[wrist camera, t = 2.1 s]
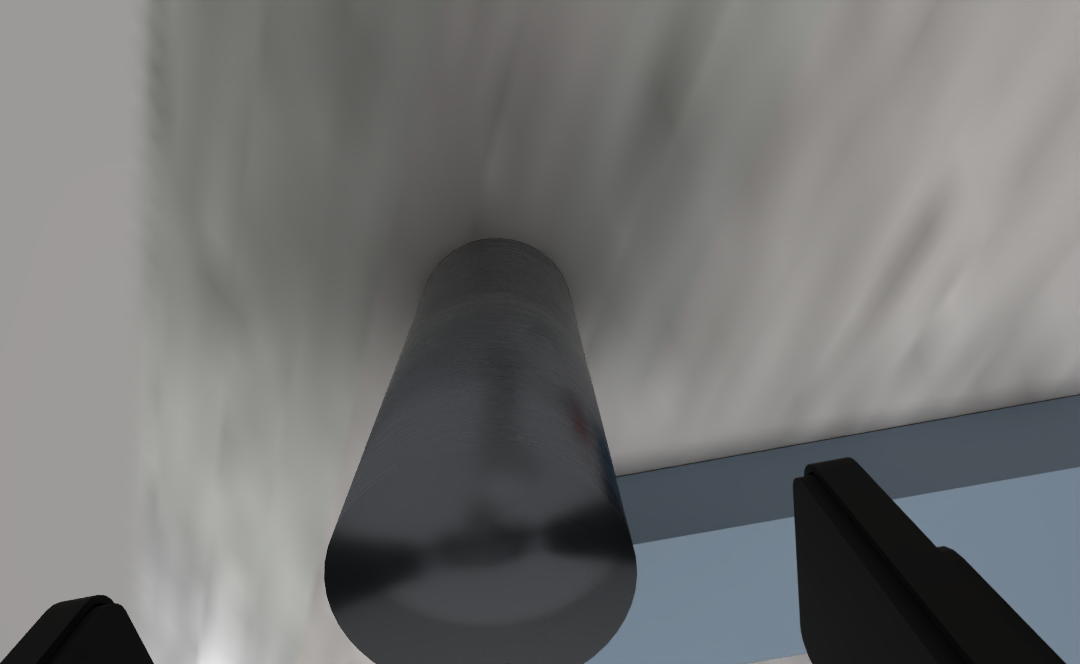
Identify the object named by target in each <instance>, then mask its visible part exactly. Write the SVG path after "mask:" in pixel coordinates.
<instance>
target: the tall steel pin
mask: <svg viewBox="0 0 1080 664" xmlns="http://www.w3.org/2000/svg"><path fill="white" fill-rule="evenodd" d="M324 580H325V587H326V594H327V598H328V601H329V604H330V607H331V610H332V612H333V614H334V616H335V618H336V620H337V622H338V624H339V626H340V627H341V629H342V630H343V632H344V633H345V634H346V636H347V637H348V639H349V640H350V641H351V642H352V643H353V644H354V645H355V646H356V647H357V648H358V649H359V650H360V651H361V652H362V653H363V654H364V655H366V656H367V657H368V658H369V659H370V660H372V661H373V662H374V663H376V664H584V663H586V662H587V661H589V660H590V659H591V658H593V657H594V656H595V655H596V654H597V653H598V652H599V651H601V650H602V649H603V648H604V647H605V646H606V645H607V644H608V643H609V641H610V640H611V639H612V638H613V637H614V635H615V634H616V633H617V632H618V630H619V628H620V627H621V625H622V624H623V622H624V620H625V619H626V616H627V614H628V612H629V610H630V607H631V605H632V602H633V598H634V594H635V590H636V581H637V563H636V555H635V551H634V547H633V543H632V539H631V535H630V531H629V527H628V523H627V519H626V515H625V511H624V508H623V504H622V500H621V496H620V492H619V488H618V484H617V480H616V476H615V472H614V468H613V464H612V460H611V456H610V452H609V448H608V444H607V440H606V437H605V433H604V429H603V425H602V421H601V417H600V413H599V409H598V405H597V401H596V397H595V393H594V389H593V385H592V381H591V377H590V373H589V370H588V366H587V362H586V358H585V354H584V350H583V346H582V342H581V338H580V334H579V330H578V326H577V322H576V318H575V314H574V310H573V306H572V302H571V299H570V295H569V291H568V287H567V285H566V282H565V280H564V278H563V276H562V275H561V273H560V271H559V270H558V269H557V267H556V266H555V265H554V263H553V262H552V261H551V260H550V259H549V258H548V257H546V256H545V255H544V254H542V253H541V252H540V251H538V250H536V249H535V248H533V247H531V246H529V245H526V244H524V243H522V242H518V241H514V240H509V239H494V238H491V239H483V240H479V241H475V242H471V243H469V244H466V245H464V246H462V247H460V248H458V249H456V250H454V251H453V252H452V253H450V254H449V255H448V256H446V257H445V258H444V259H443V260H442V261H441V262H440V263H439V265H438V266H437V267H436V269H435V270H434V271H433V273H432V275H431V277H430V278H429V281H428V283H427V286H426V288H425V291H424V294H423V296H422V299H421V302H420V304H419V307H418V310H417V312H416V315H415V318H414V320H413V323H412V325H411V328H410V331H409V333H408V336H407V339H406V341H405V344H404V347H403V349H402V352H401V355H400V357H399V360H398V363H397V365H396V368H395V371H394V373H393V376H392V379H391V381H390V384H389V386H388V389H387V392H386V394H385V397H384V400H383V402H382V405H381V408H380V410H379V413H378V416H377V418H376V421H375V424H374V426H373V429H372V432H371V434H370V437H369V439H368V442H367V445H366V447H365V450H364V453H363V455H362V458H361V461H360V463H359V466H358V469H357V471H356V474H355V477H354V479H353V482H352V485H351V487H350V490H349V493H348V495H347V498H346V500H345V503H344V506H343V508H342V511H341V514H340V516H339V519H338V522H337V524H336V527H335V530H334V532H333V535H332V538H331V540H330V543H329V546H328V550H327V554H326V559H325V574H324Z"/></svg>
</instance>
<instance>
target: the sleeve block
mask: <svg viewBox="0 0 1080 664" xmlns="http://www.w3.org/2000/svg"><path fill="white" fill-rule="evenodd" d="M845 457H850V458H853V459H854V460H855V461H856V462H857V463H858V464H859V465H860V466H861V467H862V468H863V469H864V470H865V471H866V472H867V473H868V474H869V475H870V476H871V477H872V479H873V480H874V481H875V482H876V483H877V484H878V485H879V486H880V487H881V488H882V489H883V490H884V491H885V492H886V493H887V495H888V496H889V497H890V498H891V499H892V500H893V501H894V502H895V503H896V504H897V505H898V506H899V507H900V508H901V509H902V511H903V512H904V513H905V514H906V515H907V516H908V517H909V518H910V519H911V520H912V521H913V522H914V523H915V524H916V525H917V527H918V528H919V529H920V530H921V531H922V532H923V533H924V534H925V535H926V536H927V537H928V538H929V539H930V540H931V541H932V543H933V544H934V545H935V546H936V547H941V546H945V547H948V548H950V549H953V550H954V551H956V552H957V553H958V554H959V555H960V556H962V557H963V558H964V559H965V560H966V561H967V562H968V563H969V564H970V565H971V566H972V567H973V568H974V569H975V570H976V571H977V572H978V573H979V574H980V575H981V576H982V578H983V579H984V580H985V581H986V582H987V583H988V584H989V585H990V586H991V587H992V588H993V589H994V590H995V591H996V592H997V593H998V594H999V595H1000V596H1001V597H1002V598H1003V599H1004V600H1005V601H1006V602H1007V603H1008V604H1009V605H1010V606H1011V607H1012V608H1013V609H1014V610H1015V611H1016V612H1017V613H1018V615H1019V616H1020V617H1021V618H1022V619H1023V620H1024V621H1025V622H1026V623H1027V624H1028V625H1029V626H1030V627H1031V628H1032V629H1033V630H1034V631H1035V632H1036V633H1037V634H1038V635H1039V636H1040V637H1041V638H1042V639H1043V640H1044V641H1045V642H1046V643H1047V644H1048V645H1049V646H1050V647H1051V648H1052V649H1053V651H1054V652H1055V653H1056V654H1057V655H1058V656H1059V657H1060V658H1061V659H1062V660H1063V661H1064V662H1065V663H1066V664H1080V395H1077V396H1071V397H1066V398H1060V399H1054V400H1049V401H1043V402H1038V403H1032V404H1026V405H1021V406H1015V407H1009V408H1004V409H998V410H993V411H987V412H981V413H976V414H970V415H964V416H959V417H953V418H948V419H942V420H936V421H931V422H925V423H919V424H914V425H908V426H902V427H897V428H891V429H886V430H880V431H874V432H869V433H863V434H857V435H852V436H846V437H841V438H835V439H829V440H824V441H818V442H812V443H807V444H801V445H796V446H790V447H784V448H779V449H773V450H767V451H762V452H756V453H751V454H745V455H739V456H734V457H728V458H722V459H717V460H711V461H705V462H700V463H694V464H689V465H683V466H677V467H672V468H666V469H660V470H655V471H649V472H644V473H638V474H632V475H627V476H621V477H616V480H617V484H618V488H619V492H620V496H621V500H622V504H623V508H624V511H625V515H626V519H627V523H628V527H629V531H630V535H631V539H632V543H633V547H634V551H635V555H636V563H637V581H636V590H635V594H634V598H633V602H632V605H631V607H630V610H629V612H628V614H627V616H626V619H625V620H624V622H623V624H622V625H621V627H620V628H619V630H618V632H617V633H616V634H615V635H614V637H613V638H612V639H611V640H610V641H609V643H608V644H607V645H606V646H605V647H604V648H603V649H602V650H601V651H599V652H598V653H597V654H596V655H595V656H594V657H593V658H591V659H590V660H589V661H587V662H586V663H584V664H746V663H752V662H758V661H764V660H770V659H776V658H782V657H788V656H794V655H800V654H806V653H807V651H806V648H805V646H804V643H803V639H802V635H801V629H800V614H799V596H798V577H797V558H796V539H795V520H794V502H793V481H794V479H795V478H797V477H803V476H804V470H805V467H806V466H807V465H808V464H812V463H818V462H823V461H829V460H834V459H839V458H845Z"/></svg>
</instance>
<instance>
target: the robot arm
mask: <svg viewBox="0 0 1080 664" xmlns="http://www.w3.org/2000/svg"><path fill="white" fill-rule="evenodd" d="M793 502H794V520H795V539H796V558H797V577H798V596H799V614H800V629H801V635H802V639H803V643H804V646H805V648H806V651H807V654H808V656H809V658H810V660H811V662H812V664H1066V663H1065V662H1064V661H1063V660H1062V659H1061V658H1060V657H1059V656H1058V655H1057V654H1056V653H1055V652H1054V651H1053V649H1052V648H1051V647H1050V646H1049V645H1048V644H1047V643H1046V642H1045V641H1044V640H1043V639H1042V638H1041V637H1040V636H1039V635H1038V634H1037V633H1036V632H1035V631H1034V630H1033V629H1032V628H1031V627H1030V626H1029V625H1028V624H1027V623H1026V622H1025V621H1024V620H1023V619H1022V618H1021V617H1020V616H1019V615H1018V613H1017V612H1016V611H1015V610H1014V609H1013V608H1012V607H1011V606H1010V605H1009V604H1008V603H1007V602H1006V601H1005V600H1004V599H1003V598H1002V597H1001V596H1000V595H999V594H998V593H997V592H996V591H995V590H994V589H993V588H992V587H991V586H990V585H989V584H988V583H987V582H986V581H985V580H984V579H983V578H982V576H981V575H980V574H979V573H978V572H977V571H976V570H975V569H974V568H973V567H972V566H971V565H970V564H969V563H968V562H967V561H966V560H965V559H964V558H963V557H962V556H960V555H959V554H958V553H957V552H956V551H954V550H953V549H950V548H948V547H945V546H941V547H936V546H935V545H934V544H933V543H932V541H931V540H930V539H929V538H928V537H927V536H926V535H925V534H924V533H923V532H922V531H921V530H920V529H919V528H918V527H917V525H916V524H915V523H914V522H913V521H912V520H911V519H910V518H909V517H908V516H907V515H906V514H905V513H904V512H903V511H902V509H901V508H900V507H899V506H898V505H897V504H896V503H895V502H894V501H893V500H892V499H891V498H890V497H889V496H888V495H887V493H886V492H885V491H884V490H883V489H882V488H881V487H880V486H879V485H878V484H877V483H876V482H875V481H874V480H873V479H872V477H871V476H870V475H869V474H868V473H867V472H866V471H865V470H864V469H863V468H862V467H861V466H860V465H859V464H858V463H857V462H856V461H855V460H854V459H853V458H850V457H845V458H839V459H834V460H829V461H823V462H818V463H812V464H808V465H807V466H806V467H805V470H804V476H803V477H797V478H795V479H794V481H793ZM0 664H154V663H153V661H152V659H151V657H150V656H149V654H148V652H147V650H146V648H145V646H144V644H143V642H142V640H141V639H140V637H139V635H138V633H137V631H136V629H135V627H134V625H133V623H132V622H131V620H130V618H129V616H128V614H127V612H126V610H125V609H124V608H123V606H121V605H119V604H115V603H114V602H113V601H112V600H111V599H110V598H108V597H107V596H104V595H96V596H90V597H85V598H80V599H74V600H69V601H64V602H59V603H57V604H54V605H53V606H51V607H50V608H49V609H48V610H47V611H46V612H45V613H44V614H43V615H42V616H41V617H40V619H39V620H38V621H37V622H36V623H35V624H34V625H33V627H32V628H31V629H30V630H29V631H28V632H27V633H26V634H25V636H24V637H23V638H22V639H21V640H20V641H19V642H18V644H17V645H16V646H15V647H14V648H13V649H12V650H11V652H10V653H9V654H8V655H7V656H6V657H5V658H4V659H3V661H2V662H1V663H0Z"/></svg>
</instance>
